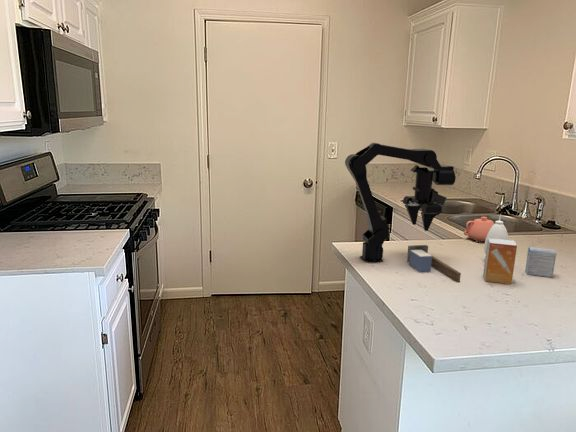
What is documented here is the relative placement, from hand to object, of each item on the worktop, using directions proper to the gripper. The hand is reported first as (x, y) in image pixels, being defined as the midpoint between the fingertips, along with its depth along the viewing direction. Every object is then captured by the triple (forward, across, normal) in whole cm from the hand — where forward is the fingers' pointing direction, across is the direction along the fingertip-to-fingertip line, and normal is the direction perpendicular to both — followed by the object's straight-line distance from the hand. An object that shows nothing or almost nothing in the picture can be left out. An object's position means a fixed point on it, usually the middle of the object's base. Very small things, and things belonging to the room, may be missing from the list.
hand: (420, 227), depth 168 cm
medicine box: (+12, -21, -34) cm, 42 cm away
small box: (+12, -24, -16) cm, 31 cm away
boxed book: (+12, -10, +4) cm, 16 cm away
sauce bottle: (+12, -7, -27) cm, 30 cm away
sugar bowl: (+12, +22, -40) cm, 47 cm away
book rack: (+12, -13, +1) cm, 18 cm away
